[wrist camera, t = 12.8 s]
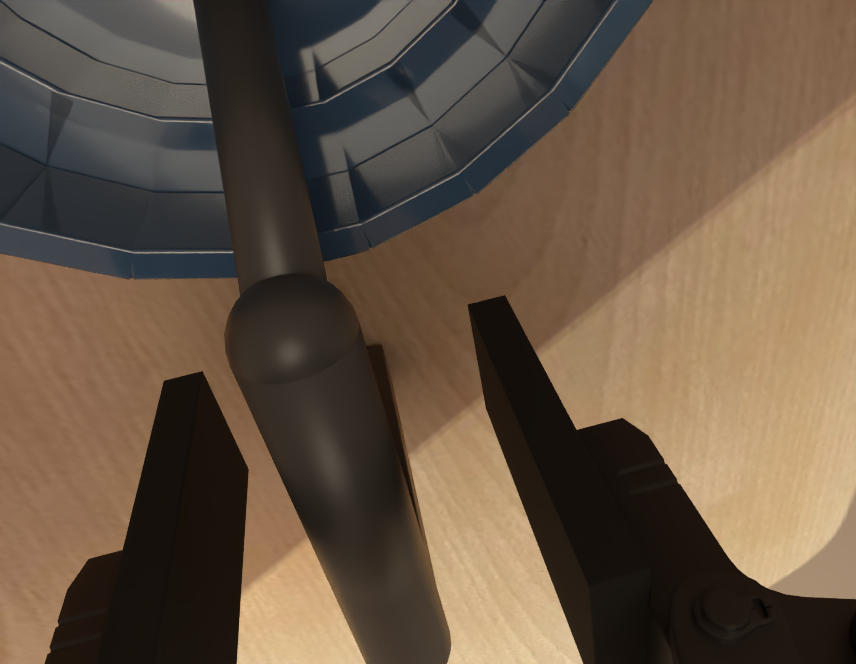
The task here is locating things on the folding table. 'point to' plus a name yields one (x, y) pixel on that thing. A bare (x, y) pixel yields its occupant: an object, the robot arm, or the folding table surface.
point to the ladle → (313, 358)
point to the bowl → (310, 107)
